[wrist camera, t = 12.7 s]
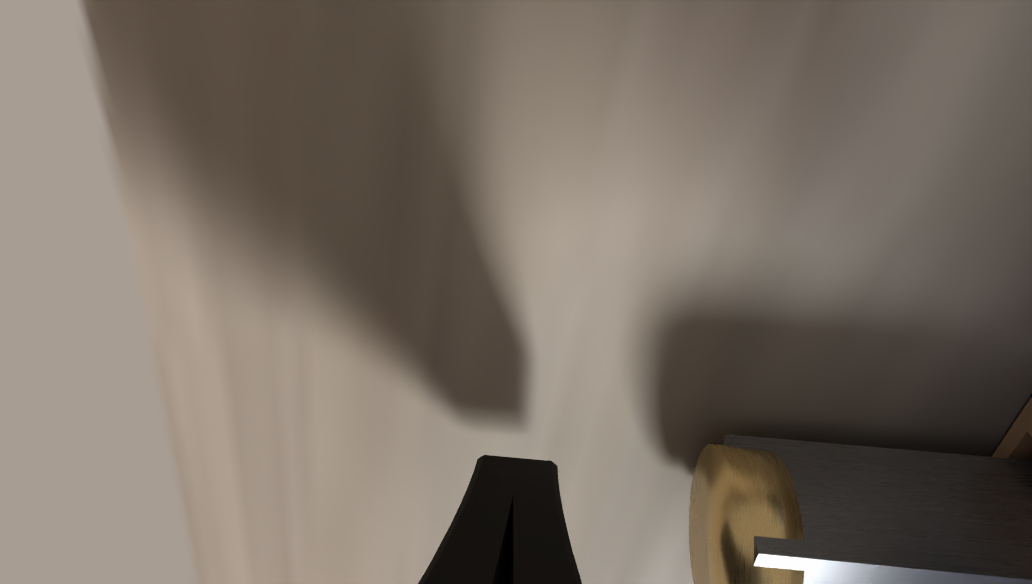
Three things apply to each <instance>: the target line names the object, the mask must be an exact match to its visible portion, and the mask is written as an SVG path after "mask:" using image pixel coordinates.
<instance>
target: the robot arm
mask: <svg viewBox="0 0 1032 584" xmlns="http://www.w3.org/2000/svg"><path fill="white" fill-rule="evenodd" d="M418 584H582V582H581V579H580V575H579V572H578V569H577V565H576V562H575V558H574V555H573V551H572V548H571V544H570V540H569V536H568V532H567V527H566V523H565V518H564V514H563V509H562V503H561V497H560V491H559V483H558V469H557V466H556V465H555V464H554V463H553V462H552V461H544V460H533V459H522V458H511V457H500V456H489V455H483V456H482V457H480V458H479V459H478V460H477V463H476V466H475V470H474V473H473V475H472V478H471V481H470V483H469V486H468V488H467V491H466V493H465V495H464V498H463V500H462V502H461V504H460V506H459V508H458V511H457V513H456V515H455V517H454V519H453V521H452V523H451V525H450V527H449V529H448V531H447V533H446V535H445V536H444V538H443V540H442V542H441V544H440V546H439V548H438V550H437V552H436V553H435V555H434V557H433V559H432V561H431V563H430V565H429V566H428V568H427V570H426V572H425V573H424V575H423V576H422V578H421V580H420V581H419V583H418Z"/></svg>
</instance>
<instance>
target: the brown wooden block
mask: <svg viewBox="0 0 1032 584" xmlns="http://www.w3.org/2000/svg"><path fill="white" fill-rule="evenodd" d="M992 457H998V458H1009V459H1021V460H1032V397H1031V398H1030V400H1029V401H1028V403H1027V404H1026V406H1025V407H1024V409H1023V410H1022V412H1021V413H1020V415H1019V416H1018V418H1017V419H1016V421H1015V422H1014V424H1013V425H1012V427H1011V428H1010V430H1009V431H1008V433H1007V434H1006V436H1005V437H1004V439H1003V440H1002V442H1001V443H1000V445H999V446H998V448H997V449H996V451H995V452H994V454H993V455H992Z"/></svg>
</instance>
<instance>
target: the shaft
mask: <svg viewBox="0 0 1032 584" xmlns="http://www.w3.org/2000/svg"><path fill="white" fill-rule="evenodd" d="M689 545H690V559H691V569H692V576H693V582H694V584H1032V460H1021V459H1009V458H998V457H986V456H974V455H963V454H951V453H940V452H928V451H916V450H905V449H893V448H882V447H870V446H858V445H847V444H835V443H824V442H812V441H800V440H789V439H777V438H766V437H754V436H742V435H731V434H725V437H724V441H723V444H722V445H717V444H708V445H706V446H705V447H704V448H703V450H702V451H701V453H700V455H699V458H698V460H697V463H696V467H695V471H694V475H693V480H692V487H691V496H690V508H689Z"/></svg>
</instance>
